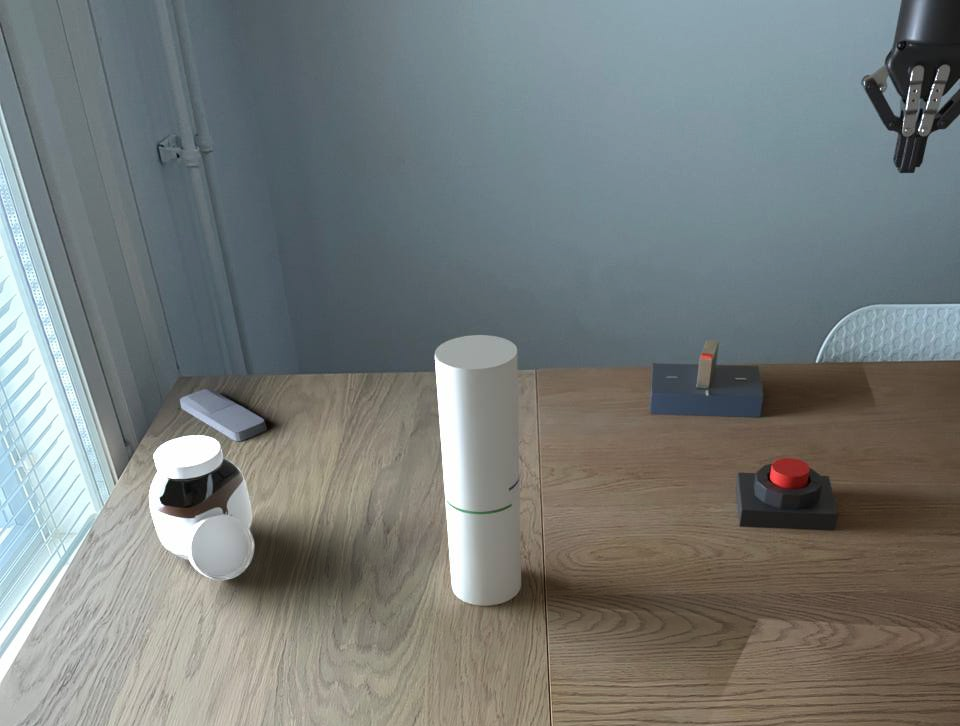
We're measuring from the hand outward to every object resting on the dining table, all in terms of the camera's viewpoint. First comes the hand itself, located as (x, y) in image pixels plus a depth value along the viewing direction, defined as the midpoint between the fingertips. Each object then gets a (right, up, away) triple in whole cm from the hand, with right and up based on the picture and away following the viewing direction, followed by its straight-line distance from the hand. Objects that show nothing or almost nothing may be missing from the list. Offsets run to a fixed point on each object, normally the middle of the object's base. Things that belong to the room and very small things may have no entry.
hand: (905, 171), depth 109 cm
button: (-14, -35, -2) cm, 37 cm away
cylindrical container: (-47, -46, -8) cm, 66 cm away
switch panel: (-17, -20, +22) cm, 34 cm away
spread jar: (-76, -43, -2) cm, 87 cm away
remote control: (-82, -22, +23) cm, 88 cm away
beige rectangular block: (-18, -18, +20) cm, 32 cm away
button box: (-13, -37, 0) cm, 40 cm away
